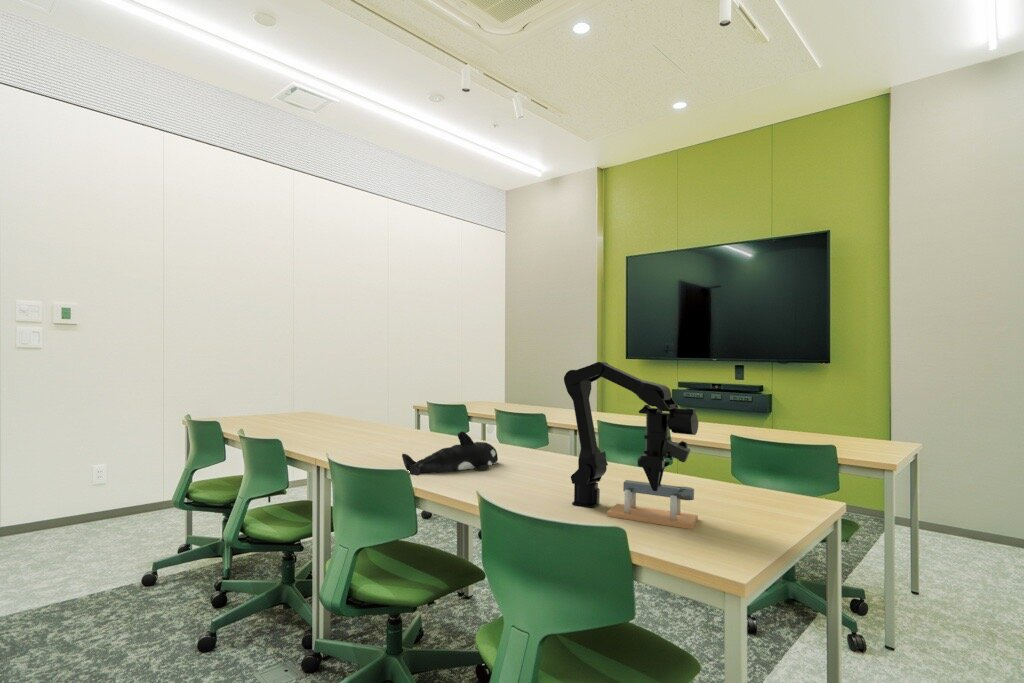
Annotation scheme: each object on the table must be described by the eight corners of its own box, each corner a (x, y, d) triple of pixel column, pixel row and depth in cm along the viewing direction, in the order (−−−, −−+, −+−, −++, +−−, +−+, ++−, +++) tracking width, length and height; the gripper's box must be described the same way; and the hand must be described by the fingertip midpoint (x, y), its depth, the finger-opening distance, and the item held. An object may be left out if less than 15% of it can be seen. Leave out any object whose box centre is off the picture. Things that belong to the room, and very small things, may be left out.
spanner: (622, 491, 144) (622, 482, 144) (626, 488, 147) (626, 479, 148) (692, 501, 135) (692, 491, 136) (695, 497, 139) (695, 487, 139)
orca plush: (512, 469, 204) (513, 432, 205) (410, 477, 186) (411, 436, 187) (489, 460, 223) (490, 426, 224) (394, 466, 205) (395, 429, 206)
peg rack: (607, 516, 142) (607, 489, 143) (617, 507, 151) (617, 482, 152) (692, 529, 132) (692, 500, 133) (697, 519, 141) (697, 492, 142)
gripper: (682, 437, 131) (681, 501, 130) (692, 430, 147) (692, 486, 147) (637, 433, 135) (636, 495, 135) (652, 427, 152) (651, 481, 151)
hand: (656, 489), depth 142 cm, fingers closed on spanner, 3 cm apart
